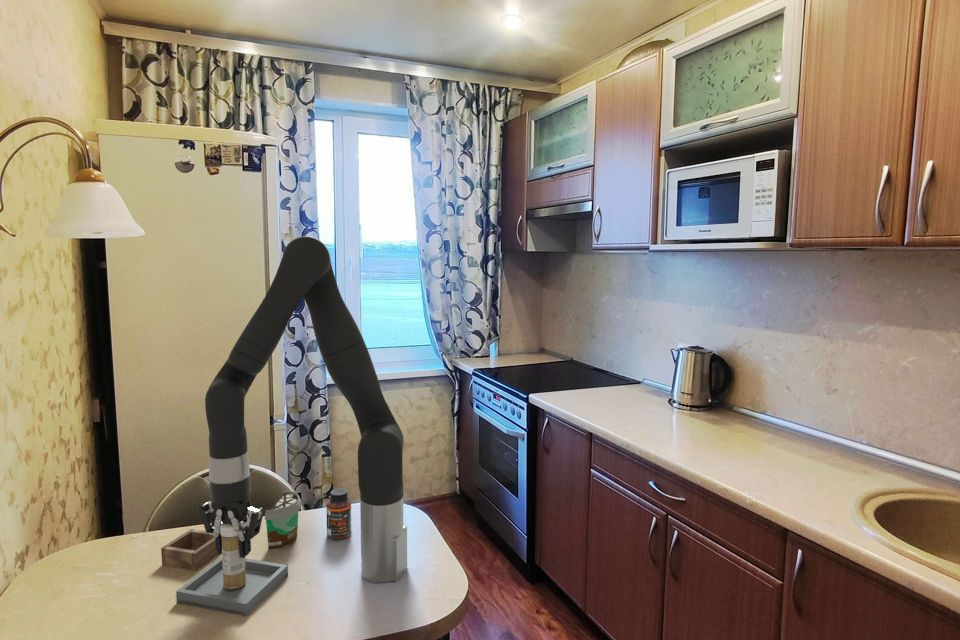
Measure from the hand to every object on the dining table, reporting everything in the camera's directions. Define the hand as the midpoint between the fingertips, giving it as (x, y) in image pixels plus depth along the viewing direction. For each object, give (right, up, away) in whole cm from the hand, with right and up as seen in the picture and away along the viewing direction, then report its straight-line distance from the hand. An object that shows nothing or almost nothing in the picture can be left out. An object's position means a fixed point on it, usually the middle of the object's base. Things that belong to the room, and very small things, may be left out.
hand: (233, 553), depth 116 cm
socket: (-15, -6, +13) cm, 20 cm away
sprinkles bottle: (0, -7, +1) cm, 7 cm away
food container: (+4, -6, +21) cm, 23 cm away
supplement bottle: (+16, -5, +24) cm, 29 cm away
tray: (0, -8, +1) cm, 8 cm away
